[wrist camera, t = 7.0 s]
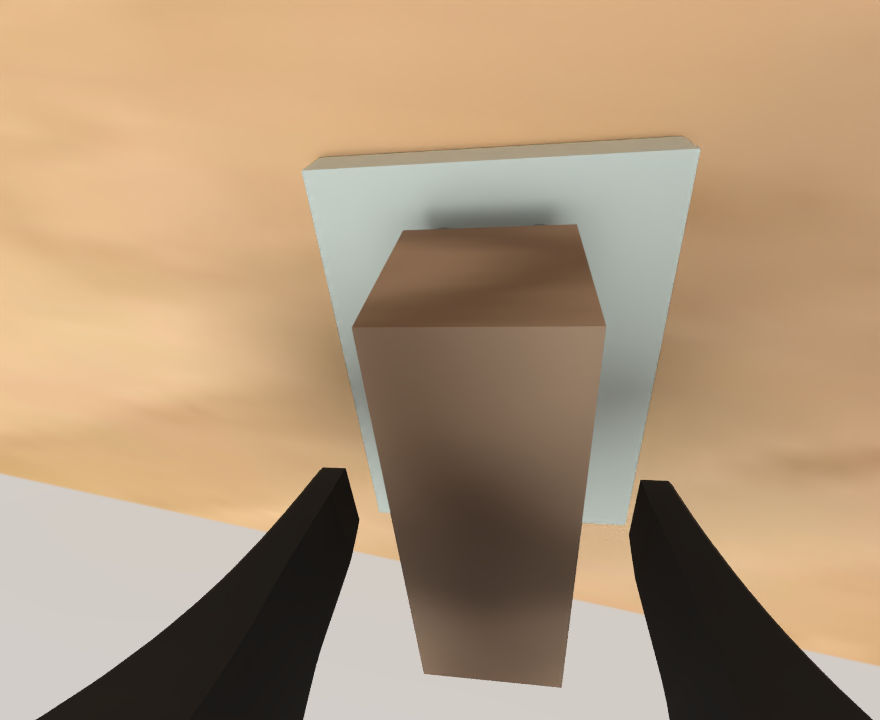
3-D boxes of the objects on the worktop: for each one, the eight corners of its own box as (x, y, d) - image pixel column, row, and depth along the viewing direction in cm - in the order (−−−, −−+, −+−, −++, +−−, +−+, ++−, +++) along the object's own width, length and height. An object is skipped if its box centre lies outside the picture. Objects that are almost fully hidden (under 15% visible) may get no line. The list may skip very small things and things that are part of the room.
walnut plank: (576, 224, 11) (606, 326, 7) (552, 549, 18) (561, 687, 14) (402, 230, 12) (351, 327, 8) (442, 543, 18) (424, 673, 15)
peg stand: (683, 136, 13) (730, 170, 10) (618, 495, 21) (635, 571, 18) (319, 157, 14) (271, 191, 12) (387, 485, 22) (368, 553, 19)
